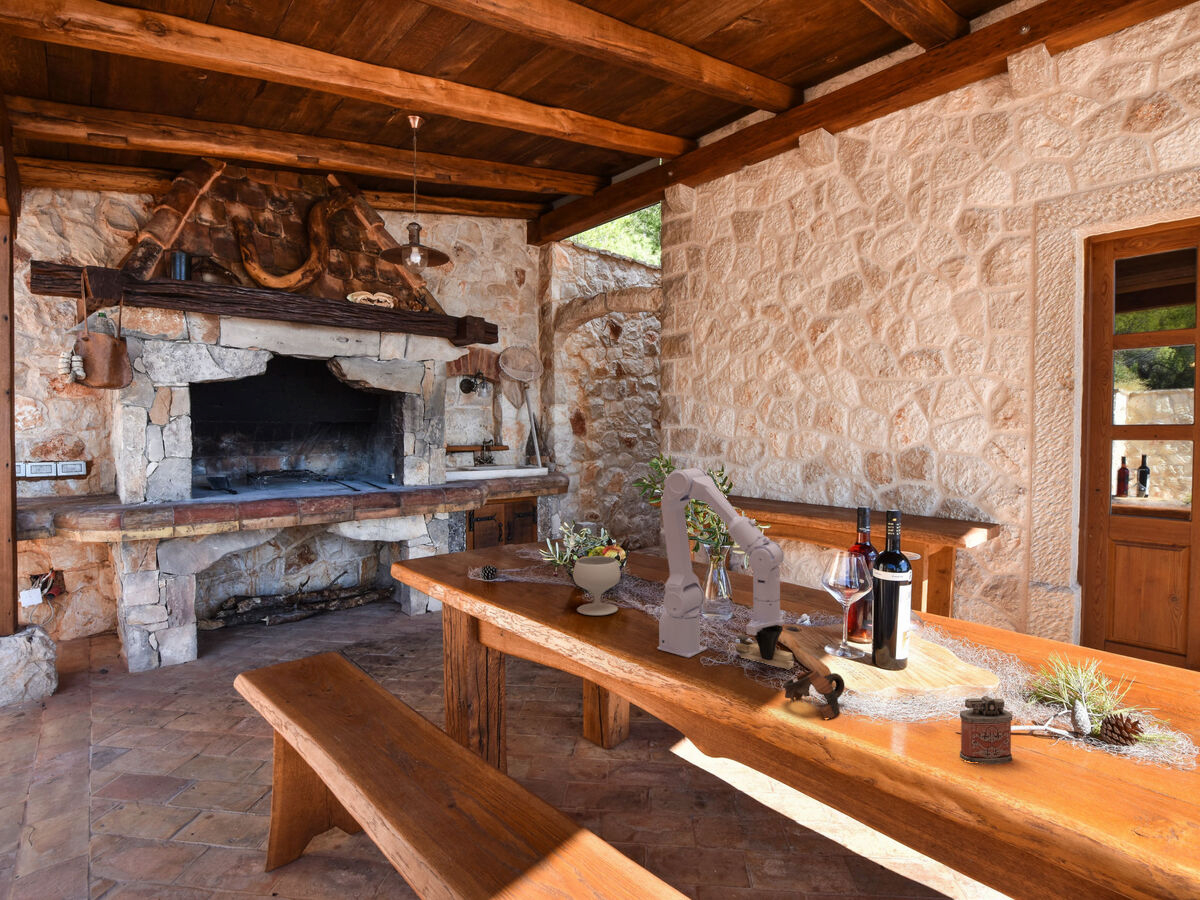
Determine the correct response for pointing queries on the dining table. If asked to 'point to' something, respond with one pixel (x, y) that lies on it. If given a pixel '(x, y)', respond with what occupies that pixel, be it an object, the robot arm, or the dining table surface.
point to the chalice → (596, 581)
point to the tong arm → (754, 648)
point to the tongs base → (758, 657)
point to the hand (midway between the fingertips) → (767, 658)
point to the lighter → (986, 731)
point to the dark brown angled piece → (817, 689)
